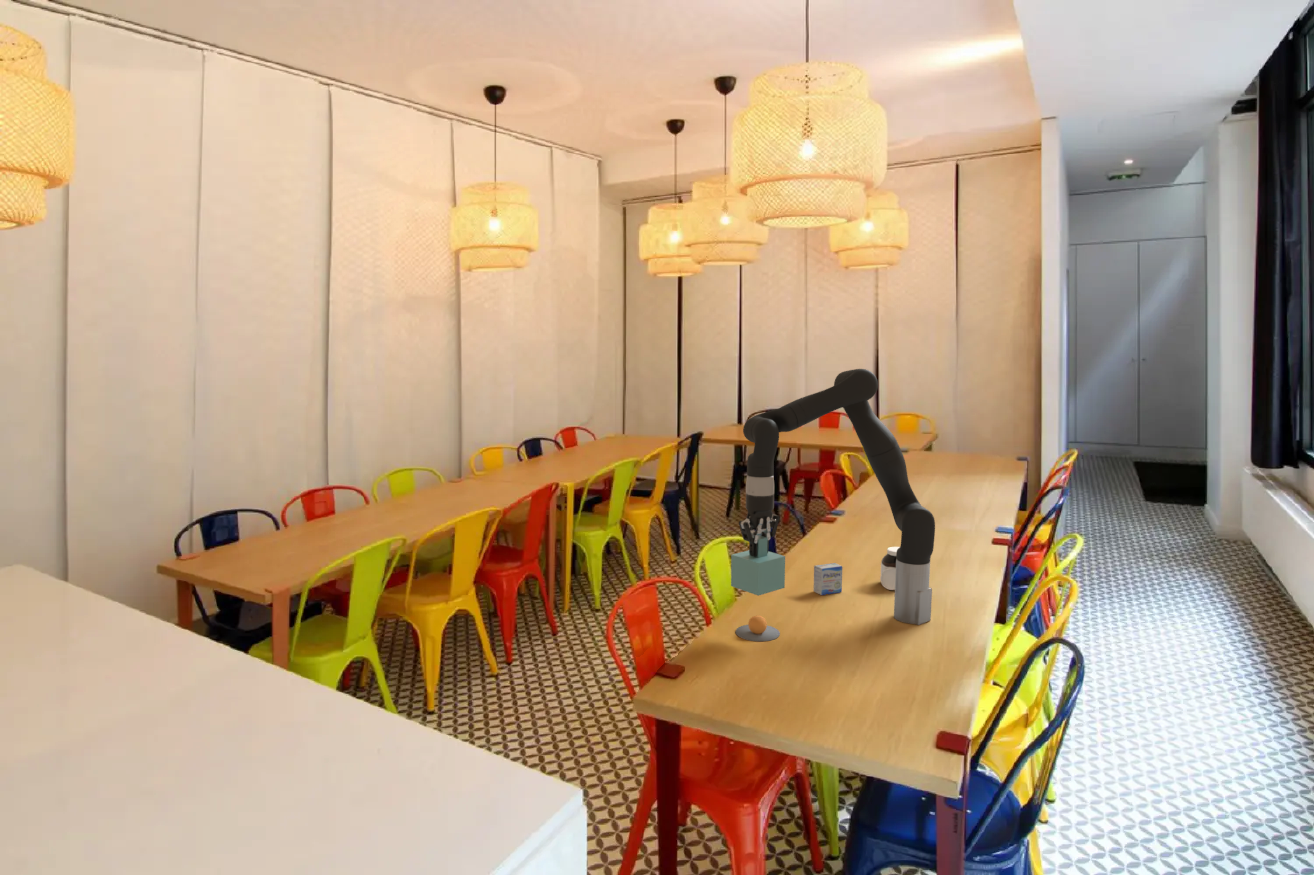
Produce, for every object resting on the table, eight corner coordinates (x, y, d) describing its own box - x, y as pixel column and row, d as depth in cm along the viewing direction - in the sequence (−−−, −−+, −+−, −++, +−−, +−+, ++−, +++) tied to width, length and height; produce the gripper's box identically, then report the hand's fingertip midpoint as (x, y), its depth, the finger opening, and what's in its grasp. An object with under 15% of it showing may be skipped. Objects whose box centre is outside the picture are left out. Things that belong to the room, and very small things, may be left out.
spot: (789, 634, 213) (789, 633, 213) (758, 645, 206) (758, 644, 206) (757, 621, 222) (757, 620, 222) (726, 631, 215) (726, 630, 215)
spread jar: (907, 580, 259) (909, 546, 258) (920, 591, 248) (922, 555, 247) (872, 580, 259) (873, 546, 257) (883, 591, 248) (884, 556, 246)
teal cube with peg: (784, 587, 212) (785, 538, 210) (758, 595, 205) (759, 544, 203) (757, 578, 220) (758, 530, 218) (731, 586, 213) (731, 536, 211)
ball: (759, 639, 210) (771, 632, 213) (756, 622, 209) (769, 615, 212) (745, 634, 214) (758, 627, 217) (743, 617, 213) (756, 610, 216)
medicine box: (820, 595, 244) (821, 569, 243) (812, 591, 248) (813, 565, 247) (842, 592, 247) (843, 566, 246) (833, 588, 251) (834, 562, 250)
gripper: (751, 497, 201) (750, 562, 204) (788, 490, 210) (787, 553, 212) (731, 493, 207) (730, 556, 210) (767, 486, 216) (766, 547, 218)
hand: (759, 554), depth 211 cm, fingers closed on teal cube with peg, 3 cm apart
